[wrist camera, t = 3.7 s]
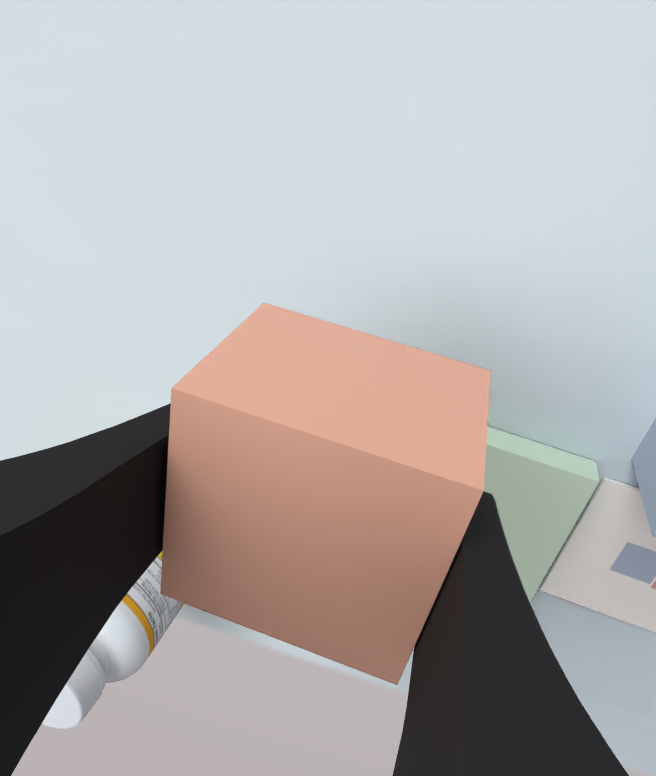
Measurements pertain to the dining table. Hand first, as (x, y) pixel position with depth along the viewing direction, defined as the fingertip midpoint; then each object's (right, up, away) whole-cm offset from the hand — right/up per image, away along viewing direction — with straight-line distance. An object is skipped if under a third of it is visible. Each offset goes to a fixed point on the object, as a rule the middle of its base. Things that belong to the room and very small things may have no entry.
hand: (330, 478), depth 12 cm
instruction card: (+12, -5, +9) cm, 16 cm away
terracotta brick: (0, +1, +1) cm, 2 cm away
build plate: (+5, -3, +11) cm, 12 cm away
